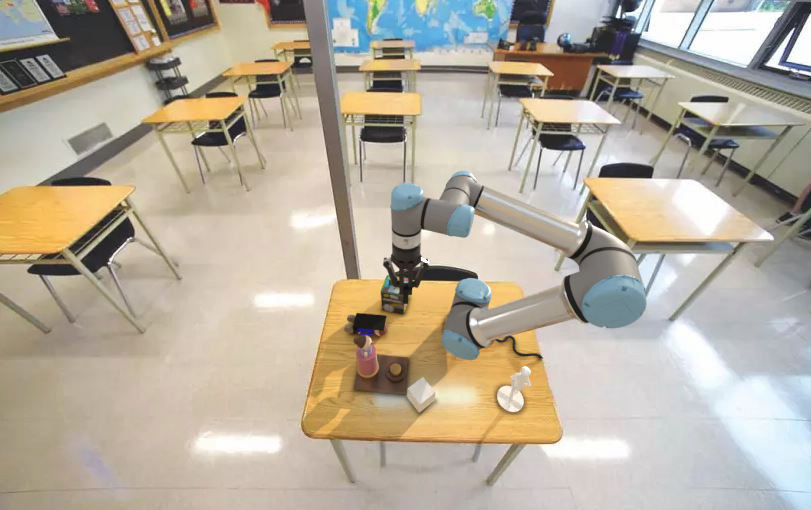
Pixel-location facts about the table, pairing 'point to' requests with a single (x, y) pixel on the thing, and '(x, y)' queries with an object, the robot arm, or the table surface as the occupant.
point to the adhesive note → (421, 394)
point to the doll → (366, 357)
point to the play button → (395, 369)
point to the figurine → (514, 391)
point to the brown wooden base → (385, 377)
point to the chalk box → (392, 297)
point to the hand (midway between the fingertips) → (405, 300)
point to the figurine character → (367, 324)
